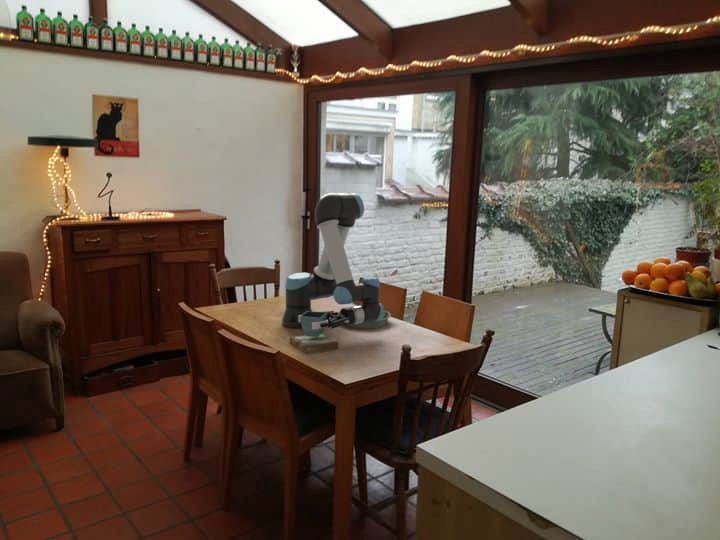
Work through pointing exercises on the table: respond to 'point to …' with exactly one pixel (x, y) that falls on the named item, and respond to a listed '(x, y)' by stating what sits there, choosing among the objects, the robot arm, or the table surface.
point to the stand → (314, 343)
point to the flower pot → (309, 319)
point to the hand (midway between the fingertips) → (305, 322)
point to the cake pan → (373, 324)
